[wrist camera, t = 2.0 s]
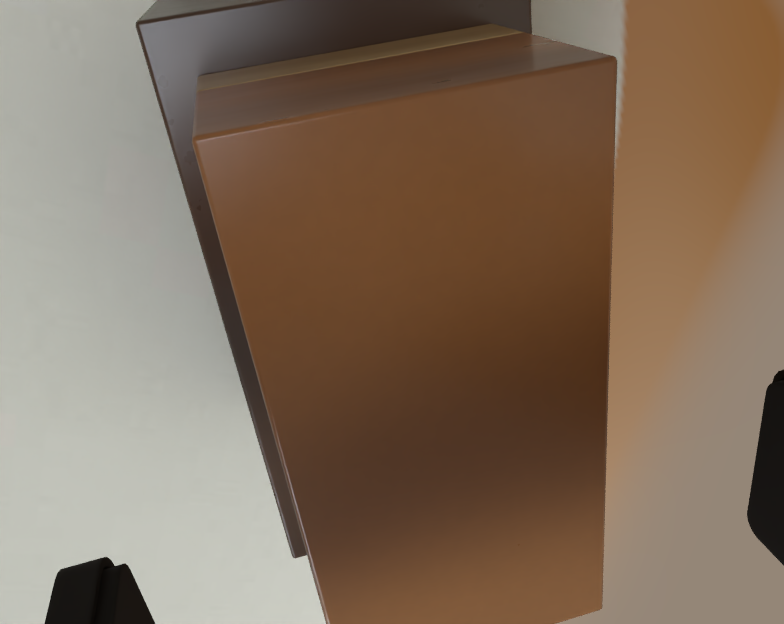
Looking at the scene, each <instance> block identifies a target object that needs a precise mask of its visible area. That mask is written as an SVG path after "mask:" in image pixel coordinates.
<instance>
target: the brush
mask: <svg viewBox="0 0 784 624" xmlns="http://www.w3.org/2000/svg"><path fill="white" fill-rule="evenodd" d="M616 83H617V60H616V57H614V56H610V55H606V54H603V53H599V52H595V51H592V50H588V49H584V48H581V47H577V46H573V45H570V44H566V43H562V42H559V41H555V40H551V39H547V38H544V37H540V36H536V35H533V34H529V33H525V32H521V31H518V30H514V29H510V28H507V27H503V26H499V25H496V24H487V25H481V26H476V27H470V28H465V29H459V30H453V31H448V32H442V33H437V34H431V35H425V36H420V37H414V38H409V39H403V40H397V41H392V42H386V43H381V44H375V45H369V46H364V47H358V48H353V49H347V50H341V51H336V52H330V53H325V54H319V55H313V56H308V57H302V58H297V59H291V60H285V61H280V62H274V63H269V64H263V65H257V66H252V67H246V68H241V69H235V70H229V71H224V72H218V73H213V74H207V75H201V76H199V77H198V78H197V88H196V98H195V110H194V122H193V133H192V145H193V148H194V152H195V156H196V159H197V163H198V166H199V170H200V173H201V177H202V181H203V184H204V188H205V191H206V195H207V198H208V202H209V206H210V209H211V213H212V216H213V220H214V223H215V227H216V231H217V234H218V238H219V241H220V245H221V249H222V252H223V256H224V259H225V263H226V266H227V270H228V274H229V277H230V281H231V284H232V288H233V291H234V295H235V299H236V302H237V306H238V309H239V313H240V317H241V320H242V324H243V327H244V331H245V334H246V338H247V342H248V345H249V349H250V352H251V356H252V359H253V363H254V367H255V370H256V374H257V377H258V381H259V385H260V388H261V392H262V395H263V399H264V402H265V406H266V410H267V413H268V417H269V420H270V424H271V427H272V431H273V435H274V438H275V442H276V445H277V449H278V453H279V456H280V460H281V463H282V467H283V470H284V474H285V478H286V481H287V485H288V488H289V492H290V495H291V499H292V503H293V506H294V510H295V513H296V517H297V521H298V524H299V528H300V531H301V535H302V538H303V542H304V546H305V549H306V553H307V556H308V560H309V563H310V567H311V571H312V574H313V578H314V581H315V585H316V588H317V592H318V596H319V599H320V603H321V606H322V610H323V614H324V617H325V621H326V624H555V623H559V622H562V621H566V620H568V619H572V618H575V617H578V616H582V615H585V614H588V613H591V612H595V611H598V610H600V609H602V594H603V593H602V592H603V557H604V554H603V553H604V521H605V519H604V518H605V485H606V447H607V411H608V375H609V338H610V300H611V265H612V229H613V227H612V226H613V192H614V156H615V119H616Z"/></svg>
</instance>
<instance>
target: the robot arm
mask: <svg viewBox="0 0 784 624" xmlns="http://www.w3.org/2000/svg"><path fill="white" fill-rule="evenodd" d="M747 516H748V522H749V524H750V527H751V529H752V531H753V532H754V534H755V535H756V537H757V538H758V539H759V540H760V541H761V542H762V543H763V544H764V545H765V546H766V547H767V549H769V550H770V552H771V553H772V554H773V555H774V556H775V557H776V558H777V559H778V560H779V561H780V562H781V563H782V564H783V565H784V370H782V371H778V373H777V374H776V375H775V376H774V379H773V382H772V384H770V385H769V386H768V388H767V391H766V396H765V402H764V409H763V416H762V422H761V428H760V434H759V441H758V447H757V453H756V460H755V466H754V473H753V480H752V485H751V492H750V498H749V505H748V511H747ZM45 624H155V622H154V620H153V618H152V616H151V614H150V611H149V609H148V607H147V605H146V603H145V601H144V598H143V596H142V594H141V592H140V590H139V588H138V585H137V583H136V581H135V579H134V577H133V575H132V573H131V570H130V569H129V567H128V565H126V564H122V565H118V566H114V564H113V563H112V561H111V560H110V559H109V558H108V557H104V558H100V559H97V560H93V561H89V562H86V563H82V564H78V565H75V566H71V567H68V568H64V569H61V570H60V571H59V572H58V573H57V576H56V579H55V582H54V586H53V591H52V595H51V599H50V603H49V608H48V612H47V616H46V620H45Z"/></svg>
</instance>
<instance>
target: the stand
mask: <svg viewBox="0 0 784 624" xmlns="http://www.w3.org/2000/svg"><path fill="white" fill-rule="evenodd" d="M487 24H496V25H499V26H503V27H507V28H510V29H514V30H518V31H521V32H525V33H529V34H532V25H531V0H157V1H156V2H155V3H154V4H153V5H152V6H151V7H150V8H149V9H148V10H147V11H146V12H145V13H144V15H143V16H142V17H141V18H140V19H139V20H138V21H137V22H136V28H137V32H138V35H139V39H140V42H141V45H142V49H143V52H144V56H145V59H146V62H147V66H148V69H149V73H150V76H151V79H152V83H153V86H154V89H155V93H156V96H157V100H158V103H159V106H160V110H161V113H162V117H163V120H164V123H165V127H166V130H167V133H168V137H169V140H170V144H171V147H172V150H173V154H174V157H175V161H176V164H177V167H178V171H179V174H180V178H181V181H182V184H183V188H184V191H185V194H186V198H187V201H188V205H189V208H190V211H191V215H192V218H193V222H194V225H195V228H196V232H197V235H198V239H199V242H200V245H201V249H202V252H203V255H204V259H205V262H206V266H207V269H208V272H209V276H210V279H211V283H212V286H213V289H214V293H215V296H216V299H217V303H218V306H219V310H220V313H221V316H222V320H223V323H224V327H225V330H226V333H227V337H228V340H229V344H230V347H231V350H232V354H233V357H234V360H235V364H236V367H237V371H238V374H239V377H240V381H241V384H242V388H243V391H244V394H245V398H246V401H247V404H248V408H249V411H250V415H251V418H252V421H253V425H254V428H255V432H256V435H257V438H258V442H259V445H260V449H261V452H262V455H263V459H264V462H265V465H266V469H267V472H268V476H269V479H270V482H271V486H272V489H273V493H274V496H275V499H276V503H277V506H278V510H279V513H280V516H281V520H282V523H283V526H284V530H285V533H286V537H287V540H288V543H289V547H290V550H291V554H292V556H293V558H298V557H302V556H305V555H307V553H306V549H305V546H304V542H303V538H302V535H301V531H300V528H299V524H298V521H297V517H296V513H295V510H294V506H293V503H292V499H291V495H290V492H289V488H288V485H287V481H286V478H285V474H284V470H283V467H282V463H281V460H280V456H279V453H278V449H277V445H276V442H275V438H274V435H273V431H272V427H271V424H270V420H269V417H268V413H267V410H266V406H265V402H264V399H263V395H262V392H261V388H260V385H259V381H258V377H257V374H256V370H255V367H254V363H253V359H252V356H251V352H250V349H249V345H248V342H247V338H246V334H245V331H244V327H243V324H242V320H241V317H240V313H239V309H238V306H237V302H236V299H235V295H234V291H233V288H232V284H231V281H230V277H229V274H228V270H227V266H226V263H225V259H224V256H223V252H222V249H221V245H220V241H219V238H218V234H217V231H216V227H215V223H214V220H213V216H212V213H211V209H210V206H209V202H208V198H207V195H206V191H205V188H204V184H203V181H202V177H201V173H200V170H199V166H198V163H197V159H196V156H195V152H194V148H193V145H192V133H193V122H194V110H195V98H196V88H197V78H198V77H199V76H201V75H207V74H213V73H218V72H224V71H229V70H235V69H241V68H246V67H252V66H257V65H263V64H269V63H274V62H280V61H285V60H291V59H297V58H302V57H308V56H313V55H319V54H325V53H330V52H336V51H341V50H347V49H353V48H358V47H364V46H369V45H375V44H381V43H386V42H392V41H397V40H403V39H409V38H414V37H420V36H425V35H431V34H437V33H442V32H448V31H453V30H459V29H465V28H470V27H476V26H481V25H487Z"/></svg>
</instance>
